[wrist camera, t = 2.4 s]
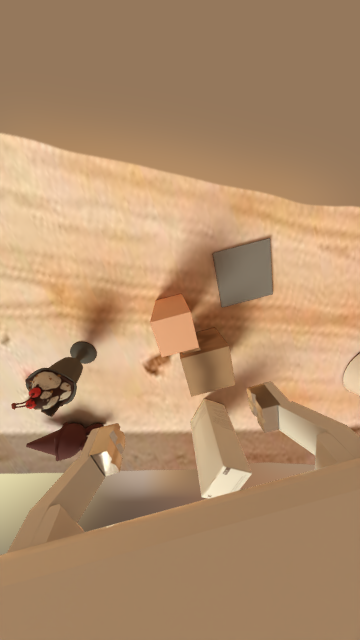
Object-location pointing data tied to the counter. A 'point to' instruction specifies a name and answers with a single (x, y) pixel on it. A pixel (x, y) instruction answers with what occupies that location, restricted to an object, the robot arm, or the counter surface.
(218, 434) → the skincare box
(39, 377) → the sundae
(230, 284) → the grey mat
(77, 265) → the counter surface
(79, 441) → the icecream
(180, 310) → the terracotta pillar
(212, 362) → the lettered block
